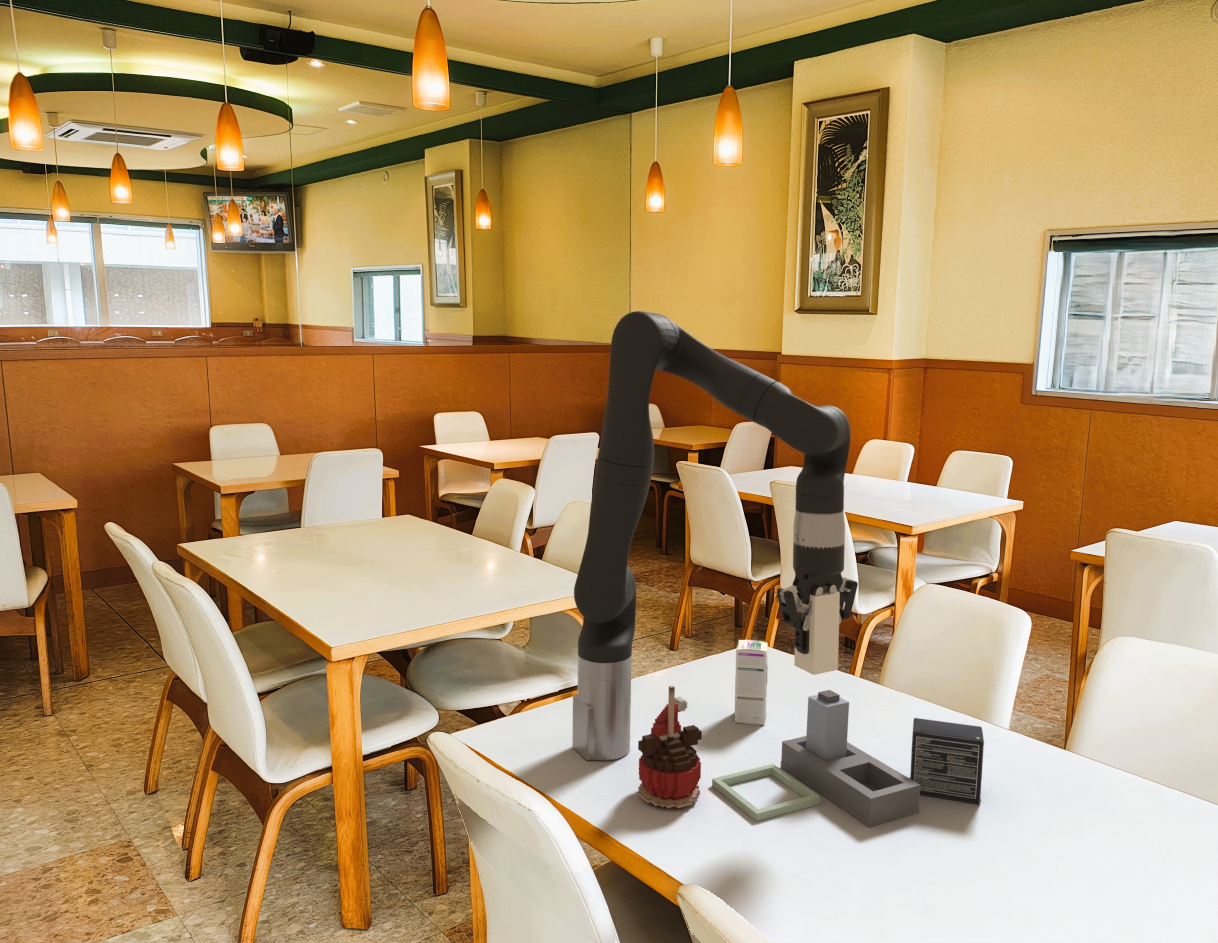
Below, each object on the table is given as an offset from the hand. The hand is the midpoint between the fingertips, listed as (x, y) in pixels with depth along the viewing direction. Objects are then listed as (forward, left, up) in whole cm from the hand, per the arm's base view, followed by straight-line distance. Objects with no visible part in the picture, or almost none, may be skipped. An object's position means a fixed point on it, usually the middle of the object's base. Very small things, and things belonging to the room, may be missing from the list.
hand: (816, 649), depth 137 cm
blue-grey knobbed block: (+8, +5, -23) cm, 25 cm away
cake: (-19, +10, -25) cm, 33 cm away
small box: (+22, -7, -25) cm, 33 cm away
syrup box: (+10, +29, -25) cm, 39 cm away
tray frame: (-5, +4, -24) cm, 25 cm away
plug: (0, 0, -3) cm, 3 cm away
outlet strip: (+8, 0, -24) cm, 26 cm away
